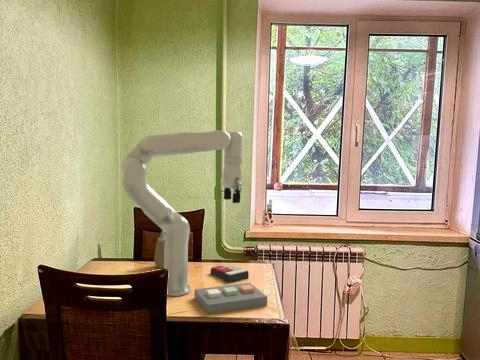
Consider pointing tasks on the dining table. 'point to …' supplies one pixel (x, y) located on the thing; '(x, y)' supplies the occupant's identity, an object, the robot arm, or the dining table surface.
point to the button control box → (229, 273)
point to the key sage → (230, 291)
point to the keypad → (230, 299)
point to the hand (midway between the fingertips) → (231, 201)
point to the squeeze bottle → (160, 251)
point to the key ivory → (213, 293)
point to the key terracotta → (246, 289)
